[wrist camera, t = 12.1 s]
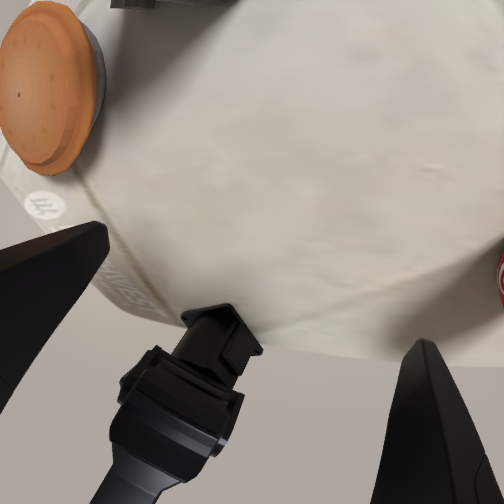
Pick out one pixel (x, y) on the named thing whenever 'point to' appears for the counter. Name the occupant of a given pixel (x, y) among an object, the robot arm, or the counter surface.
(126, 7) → the corner bracket
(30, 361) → the robot arm
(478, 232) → the counter surface
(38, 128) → the pie
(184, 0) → the supplement bottle
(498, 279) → the soda can
